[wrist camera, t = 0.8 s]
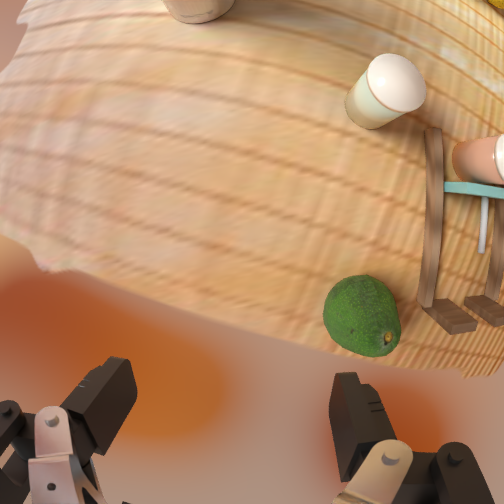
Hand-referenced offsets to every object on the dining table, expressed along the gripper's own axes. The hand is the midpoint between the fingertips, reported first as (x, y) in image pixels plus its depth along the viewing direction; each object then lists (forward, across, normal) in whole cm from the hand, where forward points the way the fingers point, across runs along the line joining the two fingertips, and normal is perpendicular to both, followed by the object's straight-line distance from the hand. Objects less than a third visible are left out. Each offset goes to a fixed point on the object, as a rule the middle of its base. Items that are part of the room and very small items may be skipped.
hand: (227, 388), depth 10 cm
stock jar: (+25, -28, -12) cm, 39 cm away
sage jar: (+25, -13, -17) cm, 33 cm away
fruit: (+24, -11, +6) cm, 28 cm away
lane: (+24, -28, -4) cm, 37 cm away
